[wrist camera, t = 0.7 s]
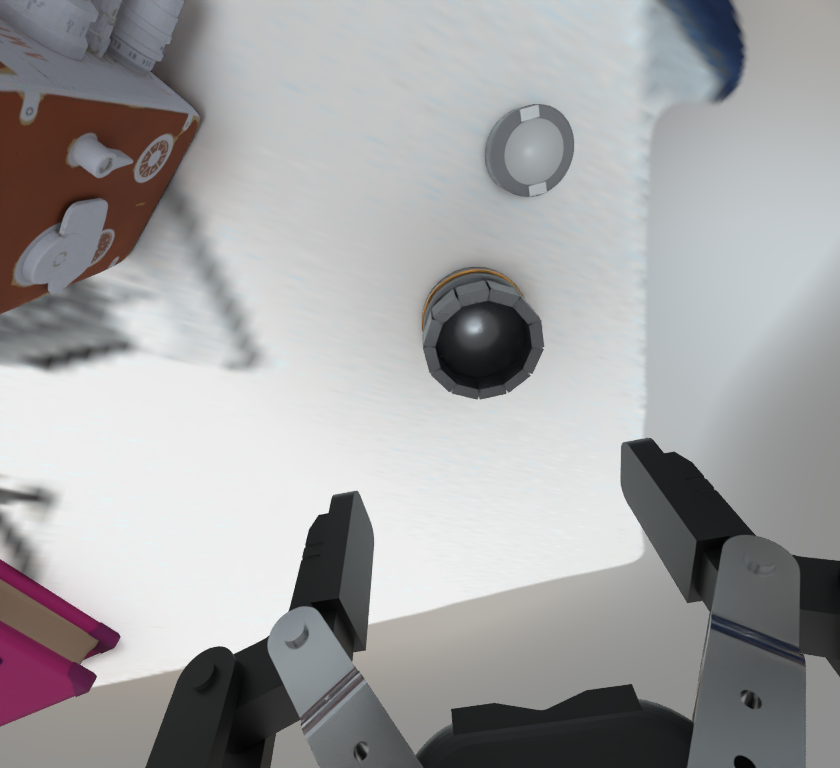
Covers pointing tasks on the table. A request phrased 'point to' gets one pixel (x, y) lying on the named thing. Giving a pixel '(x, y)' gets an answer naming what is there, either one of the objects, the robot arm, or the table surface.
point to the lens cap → (530, 150)
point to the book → (43, 646)
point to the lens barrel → (480, 334)
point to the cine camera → (82, 136)
